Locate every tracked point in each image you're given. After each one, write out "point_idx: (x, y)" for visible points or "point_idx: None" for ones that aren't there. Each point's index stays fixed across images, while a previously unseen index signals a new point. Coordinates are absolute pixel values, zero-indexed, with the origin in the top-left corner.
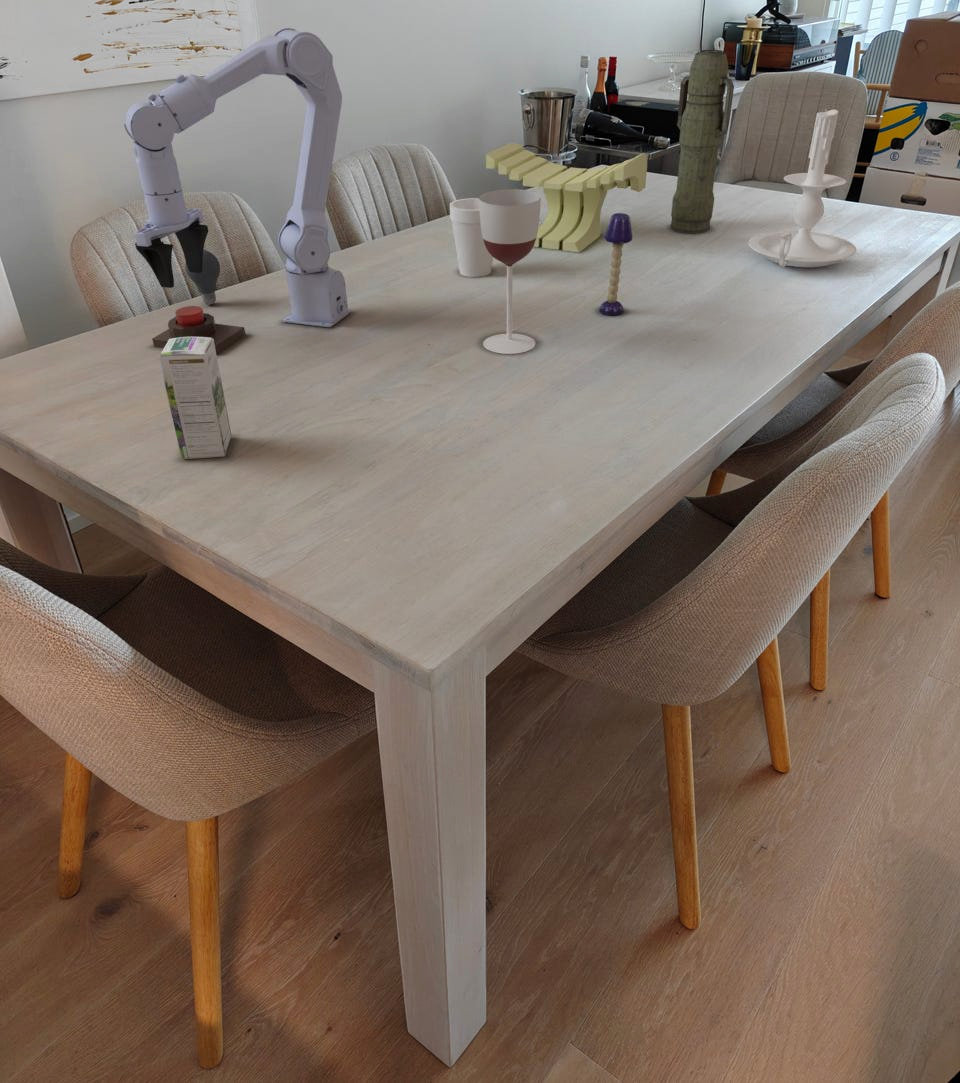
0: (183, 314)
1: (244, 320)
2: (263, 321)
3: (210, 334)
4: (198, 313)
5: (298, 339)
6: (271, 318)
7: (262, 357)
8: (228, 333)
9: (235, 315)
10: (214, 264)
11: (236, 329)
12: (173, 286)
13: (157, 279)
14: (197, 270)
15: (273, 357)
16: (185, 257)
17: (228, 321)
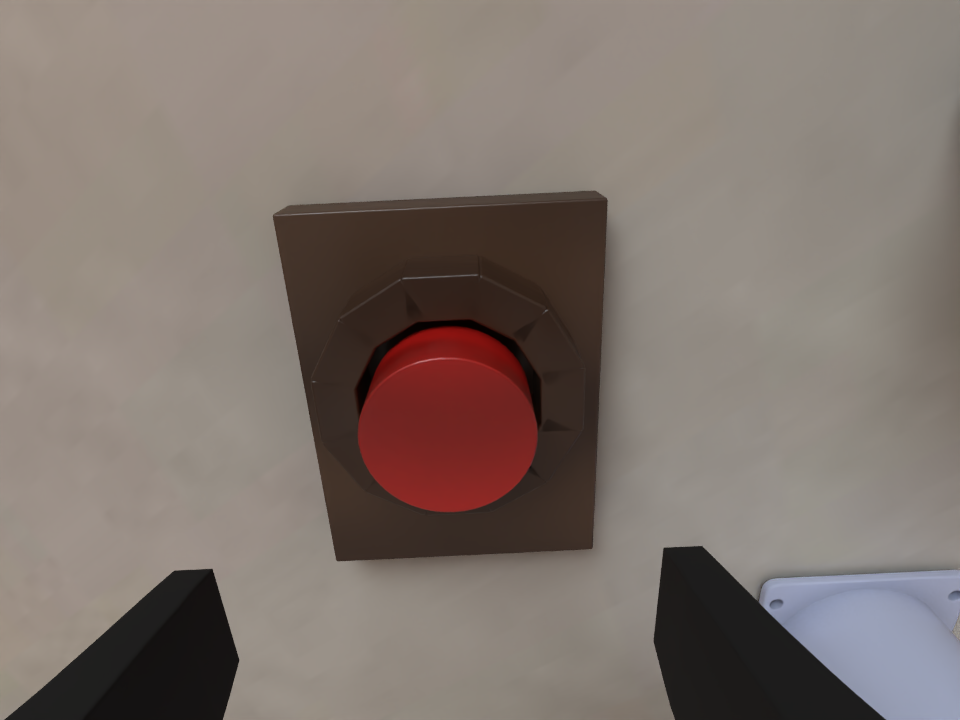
0: (373, 453)
1: (766, 414)
2: (767, 497)
3: None
4: (436, 509)
5: (606, 692)
6: (810, 508)
7: (410, 673)
8: (497, 533)
9: (831, 333)
10: None
11: (554, 537)
12: (232, 663)
13: (112, 626)
14: (660, 646)
15: (426, 700)
16: (737, 662)
17: (739, 350)
